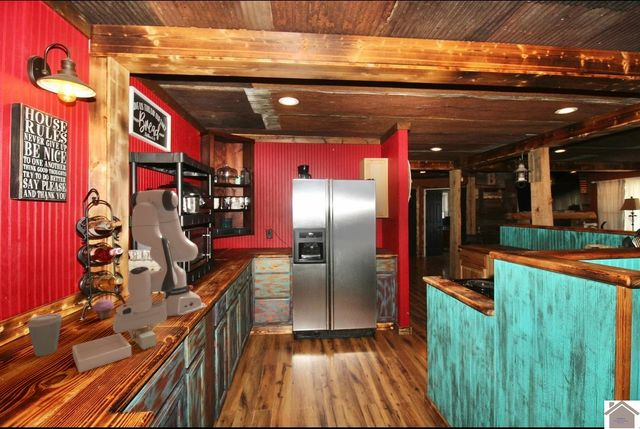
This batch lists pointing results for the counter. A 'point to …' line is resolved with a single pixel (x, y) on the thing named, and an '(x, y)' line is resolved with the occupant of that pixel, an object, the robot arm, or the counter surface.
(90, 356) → the tray
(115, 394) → the counter surface
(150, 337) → the sage block
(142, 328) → the maple block
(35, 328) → the disposable coffee cup
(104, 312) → the cupcake
